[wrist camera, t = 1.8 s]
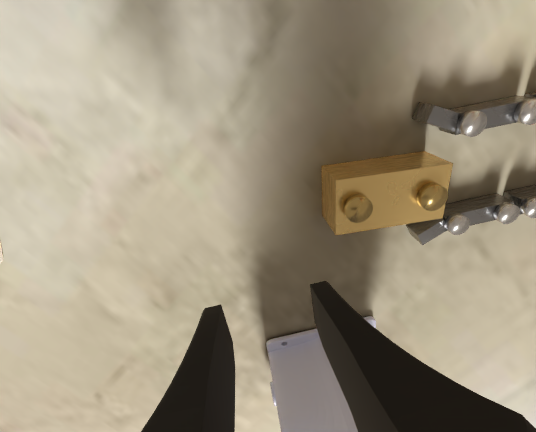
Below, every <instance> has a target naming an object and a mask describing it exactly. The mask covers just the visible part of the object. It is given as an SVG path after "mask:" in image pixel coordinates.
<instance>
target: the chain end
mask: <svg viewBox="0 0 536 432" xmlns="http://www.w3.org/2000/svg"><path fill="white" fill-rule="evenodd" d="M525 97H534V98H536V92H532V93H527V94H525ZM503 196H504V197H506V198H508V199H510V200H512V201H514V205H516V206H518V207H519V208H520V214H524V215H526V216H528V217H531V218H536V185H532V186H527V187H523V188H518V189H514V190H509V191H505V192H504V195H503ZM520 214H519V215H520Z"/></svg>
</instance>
